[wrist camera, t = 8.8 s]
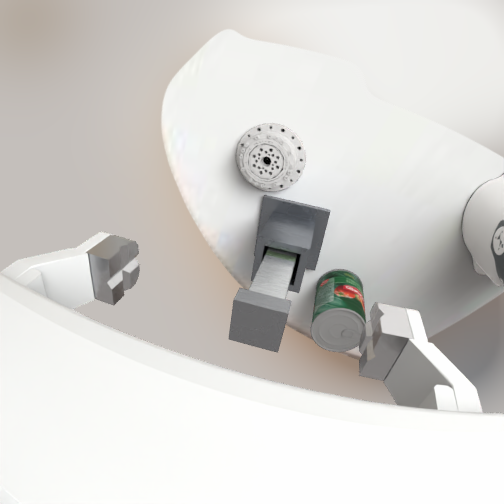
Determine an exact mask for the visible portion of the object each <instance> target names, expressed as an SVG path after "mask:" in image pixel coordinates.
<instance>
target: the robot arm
mask: <svg viewBox="0 0 504 504" xmlns="http://www.w3.org/2000/svg"><path fill="white" fill-rule="evenodd" d="M462 231H463V238H464V241H465V244H466V246H467V248H468V250H469V251H470V253H471V255H472V257H473V266H474V270H475V271H476V272H477V273H478V274H480V275H487V276H488V277H489V278H490V279H491V280H492V281H493V283H494V284H495V285H497V286H498V287H499V286H504V174H503V175H502V176H500V177H498V178H495V179H492V180H490V181H488V182H486V183H484V184H483V185H482V186H480V187H479V188H478V189H477V190H476V191H475V193H474V194H473V195H472V197H471V198H470V200H469V202H468V204H467V206H466V209H465V212H464V216H463V223H462ZM138 254H139V251H138V244H137V243H136V241H133V240H129V239H126V238H123V237H119V236H116V235H113V234H109V233H105V232H100V233H98V234H96V235H95V236H93V237H92V238H90V239H88V240H87V241H85V242H84V243H83V244H81V245H79V246H78V247H76V248H75V249H73V248H69V249H64V250H60V251H56V252H51V253H46V254H42V255H38V256H33V257H29V258H25V259H20V260H17V261H16V262H14V263H13V264H11V265H10V266H8V267H7V268H5V269H4V270H3V271H2V272H0V504H504V413H483V412H482V408H481V404H480V401H479V397H478V394H477V390H476V388H475V387H474V386H473V384H472V383H471V382H470V381H469V380H468V379H467V378H466V377H465V376H464V375H463V374H462V373H461V372H460V371H459V370H458V369H457V368H456V367H455V366H454V365H453V364H452V363H451V362H450V361H449V360H448V359H447V358H446V357H445V356H444V355H443V354H442V353H441V351H440V350H439V349H438V348H437V347H435V345H434V344H433V343H429V342H428V340H427V336H426V333H425V329H424V326H423V323H422V319H421V316H420V313H419V311H417V310H413V309H408V308H402V307H397V306H392V305H387V304H382V303H377V302H375V304H374V305H373V307H372V309H371V312H370V317H371V320H370V321H368V322H367V323H365V326H364V328H363V330H362V334H361V337H360V343H359V351H360V352H361V354H362V356H361V358H360V360H359V368H360V376H363V377H368V378H372V379H378V380H383V381H384V383H385V385H386V387H387V388H388V390H389V392H390V393H391V395H392V397H393V398H394V400H395V402H396V403H397V405H392V404H385V403H378V402H372V401H366V400H359V399H354V398H348V397H343V396H338V395H332V394H327V393H322V392H318V391H313V390H308V389H304V388H300V387H295V386H291V385H287V384H283V383H279V382H275V381H271V380H267V379H263V378H259V377H256V376H252V375H248V374H245V373H241V372H238V371H234V370H231V369H228V368H224V367H221V366H218V365H214V364H211V363H208V362H205V361H202V360H199V359H196V358H193V357H190V356H187V355H184V354H181V353H177V352H175V351H172V350H169V349H167V348H164V347H161V346H158V345H156V344H153V343H150V342H148V341H145V340H142V339H140V338H137V337H135V336H132V335H130V334H127V333H124V332H122V331H120V330H117V329H115V328H112V327H110V326H108V325H105V324H103V323H100V322H98V321H96V320H94V319H92V318H89V317H87V316H85V315H83V314H80V313H78V312H76V311H74V310H72V309H74V308H77V307H79V306H82V305H84V304H86V303H88V302H91V301H93V300H95V299H97V300H100V301H103V302H106V303H108V304H111V305H115V304H116V303H117V302H118V301H119V300H120V299H121V298H122V297H123V296H124V290H128V289H131V288H132V287H133V286H134V285H135V283H136V281H137V279H138V276H139V271H140V270H139V263H138V261H137V260H136V256H137V255H138Z"/></svg>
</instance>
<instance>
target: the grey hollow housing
mask: <svg viewBox="0 0 504 504" xmlns="http://www.w3.org/2000/svg"><path fill="white" fill-rule="evenodd" d="M329 214H330V210H328V209H324V208H320V207H316V206H311V205H307V204H303V203H299V202H294V201H290V200H285V199H281V198H276V197H272V196H267V195H265V196H264V197H263V204H262V210H261V216H260V222H259V228H258V235H257V241H256V247H255V253H254V256H255V260H254V266H253V272H252V278H251V281H253V280H254V278H255V276H256V274H257V271H258V269H259V267H260V265H261V263H262V261H263V259H264V257H265V254H266V252H267V250H268V248H269V247H273V248H277V249H281V250H286V251H290V252H294V253H298V255H297V259H296V263H295V267H294V271H293V274H292V278H291V282H290V285H289V289H288V290H289V291H293V292H297V293H299V291H300V287H301V283H302V279H303V275H304V272H305V268H307V269H311V270H315V268H316V264H317V261H318V257H319V253H320V250H321V246H322V242H323V238H324V234H325V230H326V226H327V222H328V218H329Z"/></svg>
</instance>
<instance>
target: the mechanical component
mask: <svg viewBox="0 0 504 504" xmlns="http://www.w3.org/2000/svg"><path fill="white" fill-rule="evenodd" d="M271 126H272V128H271ZM259 128H260V129H261V131H260V130H259ZM282 129H284V130H285V131H284V132H283V131H282ZM249 135H250V136H249ZM292 136H293V137H294V138H293V137H292ZM243 144H244V146H243ZM261 144H262V145H261ZM299 146H300V147H301V149H299V148H298V147H299ZM262 149H263V150H262ZM271 149H273V151H272V150H271ZM267 152H268V153H267ZM260 154H261V155H260ZM255 156H256V157H255ZM278 156H279V158H278ZM236 157H237V165H238V168H239V170H240V172H241V174H242V175H243V177H244V178H245V180H247V181H248V182H249V183H250V184H251V185H253V186H254V187H256V188H258V189H261V190H264V191H279V190H283V189H286V188H288V187H290V186H291V185H293V184H294V183H295V182H296V181H297V180H298V179H299V177H300V176H301V175H302V172H303V170H304V167H305V163H306V152H305V149H304V146H303V143H302V141H301V140H300V138H299V137H298V136H297V134H296V133H295V132H293V131H292V130H290V129H289V128H287V127H285V126H283V125H280V124H274V123H269V124H262V125H258V126H256V127H254V128H252V129H251V130H249V131H248V132H247V133H246V134H245V135H244V136H243V137H242V139H241V141H240V143H239V145H238V148H237V155H236ZM267 157H269V158H270V159H271V162H270V161H269V160H268V159H267ZM263 158H265V160H266V162H267V163H268V162H269V163H270V164H267V165H266V164H264V162H263ZM301 159H302V160H301ZM276 161H277V162H276ZM278 166H279V167H278ZM282 169H283V170H282ZM297 170H300V172H298V171H297ZM291 179H292V180H291ZM281 184H282V185H283V187H282V186H281Z"/></svg>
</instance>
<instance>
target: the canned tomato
mask: <svg viewBox="0 0 504 504" xmlns="http://www.w3.org/2000/svg"><path fill="white" fill-rule="evenodd" d="M365 323H366V319H365V307H364V296H363V285H362V282H361V280H360V279H359V277H358V276H357V275H356V274H354V273H353V272H351V271H348V270H344V269H336V270H332V271H329V272H327V273H325V274H324V275H323V276H322V277H321V278H320V279H319V281H318V283H317V287H316V297H315V304H314V312H313V319H312V325H311V335H312V338H313V340H314V341H315V343H317V345H319V346H320V347H321V348H323V349H325V350H328V351H333V352H344V351H348V350H351V349H353V348H355V347H357V346H358V345H359V343H360V337H361V334H362V330H363V328H364V326H365Z"/></svg>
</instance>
